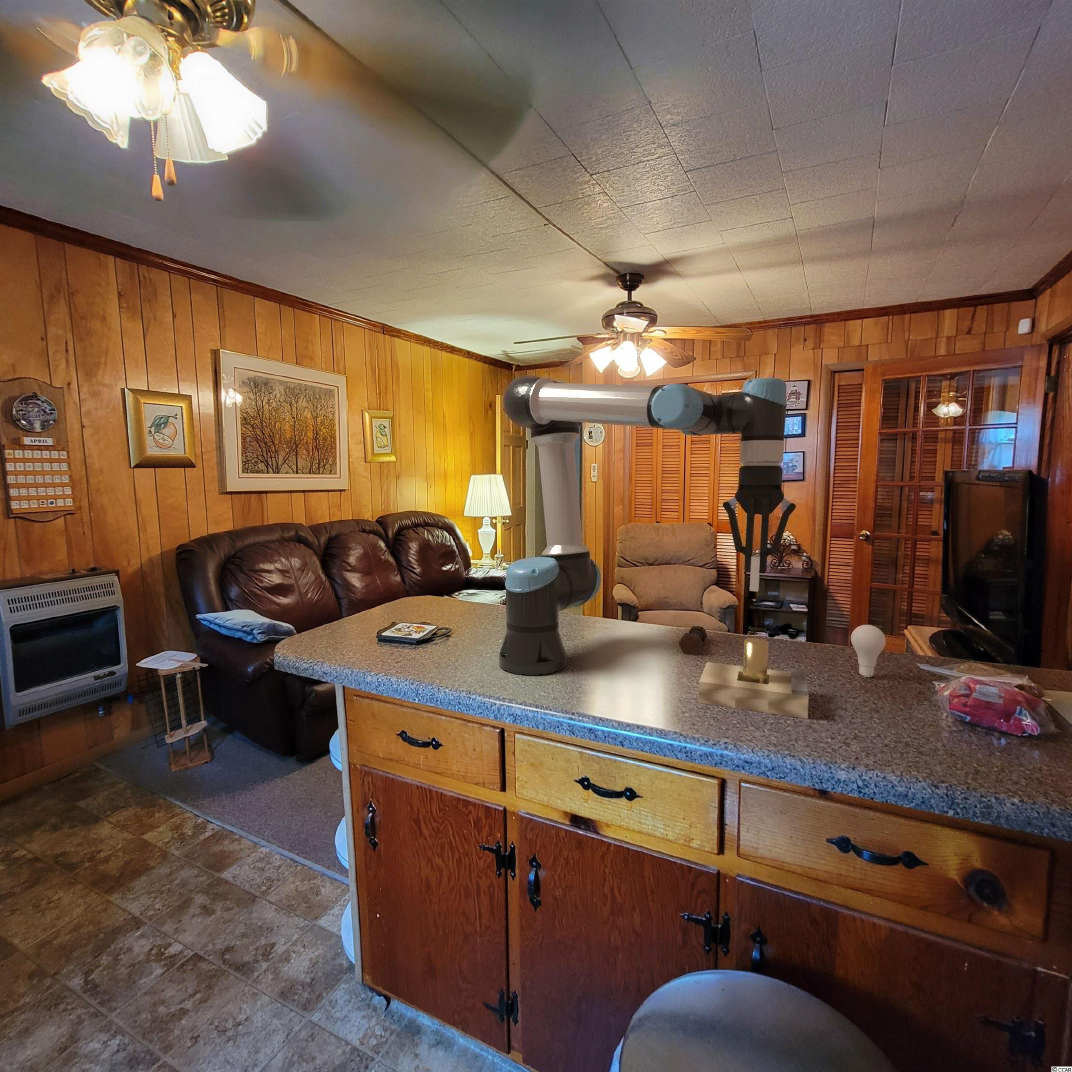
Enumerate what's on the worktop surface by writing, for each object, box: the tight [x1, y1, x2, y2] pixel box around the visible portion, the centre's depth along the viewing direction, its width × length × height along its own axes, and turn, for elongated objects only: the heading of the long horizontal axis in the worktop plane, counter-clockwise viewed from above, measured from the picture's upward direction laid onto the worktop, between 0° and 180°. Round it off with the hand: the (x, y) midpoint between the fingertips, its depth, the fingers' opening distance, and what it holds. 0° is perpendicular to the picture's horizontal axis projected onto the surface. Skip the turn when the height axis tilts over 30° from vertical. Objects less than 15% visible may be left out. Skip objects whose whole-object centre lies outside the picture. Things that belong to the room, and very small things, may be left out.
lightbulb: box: [850, 624, 886, 678], centre depth 113 cm, size 6×6×11 cm
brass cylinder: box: [742, 637, 770, 684], centre depth 102 cm, size 4×4×11 cm
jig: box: [698, 661, 809, 720], centre depth 103 cm, size 18×12×5 cm, turn 66°
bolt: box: [678, 625, 709, 656], centre depth 136 cm, size 6×5×15 cm
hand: (754, 589), depth 105 cm, fingers closed
